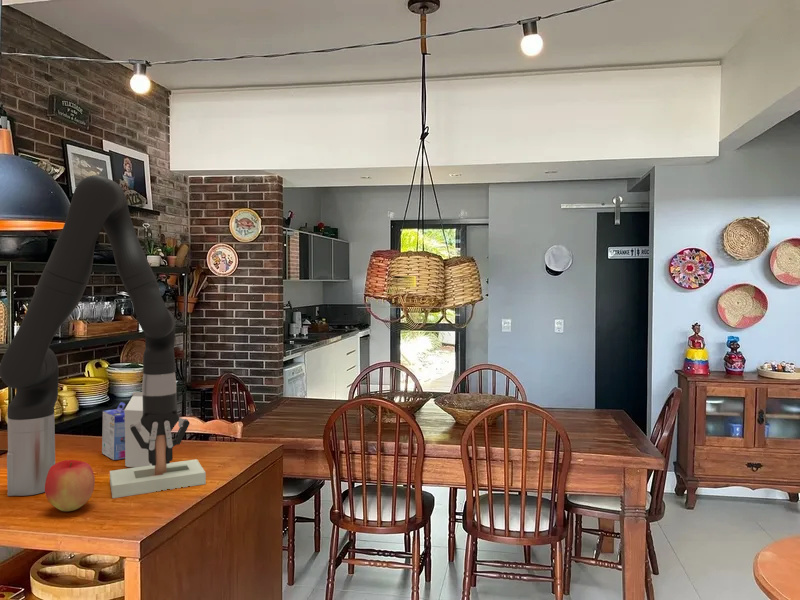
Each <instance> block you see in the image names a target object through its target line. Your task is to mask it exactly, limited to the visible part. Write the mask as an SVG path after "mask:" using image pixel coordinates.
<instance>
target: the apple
mask: <svg viewBox="0 0 800 600" xmlns="http://www.w3.org/2000/svg"><path fill="white" fill-rule="evenodd" d="M95 480H96V478H95V473H94V470H93V468H92V466H91V465H90V464H89V463H87V462H86V461H81V460H76V459H67V460H61V461H58V462H55V464H54V465H53V466H51V468H50V469H49V471H48V474H47V478H46V482H45V492H44V493H45V497H46V499H47V502H48V503H50V504H51V505H52V506H53V507H54V508H56V509H57V510H58V511H61V512H73V511H76V510H78V509H80V508H81V507H83V506H84V505H86V503H87V502H88V501H89V500H90V498H91V496H92V495H93V492H94V490H95V484H96V483H95V482H96V481H95Z"/></svg>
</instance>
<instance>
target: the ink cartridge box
mask: <svg viewBox="0 0 800 600" xmlns="http://www.w3.org/2000/svg"><path fill="white" fill-rule="evenodd" d="M126 406H127V405H126V403H125V402H122V401H120V403H119V404H118V406H117V408H116V409H107V410H102V434H101V435H102V436H101V441H102V442H101V454H103V455H105V456H106V457H107V458H110V459H111V460H112V461H117V460H118V461H119V460H123V459H124V460H125V408H126Z"/></svg>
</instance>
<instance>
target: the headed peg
mask: <svg viewBox="0 0 800 600" xmlns="http://www.w3.org/2000/svg"><path fill="white" fill-rule="evenodd" d="M154 449H155V475H152V476H157V475H163V473H167V468H166V434H159V435H156V441H155V448H154Z"/></svg>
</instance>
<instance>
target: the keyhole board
mask: <svg viewBox="0 0 800 600" xmlns="http://www.w3.org/2000/svg"><path fill="white" fill-rule="evenodd" d="M166 468H167V473H163V475H157V476H152V475H155V466H152V465H150V466H143V467H128V468H123V469H121V468H120V469H115V470H109V485H110V491H111V498H112V499H117V498H123V497H129V496H130V497H131V496H136V495H143V494H150V493H155V492H156V491H157V492H161V490H163V491H168V490H167V489H170V490H176V489H175V488H177V489H181V487H183V488H189V487H188V486H190V487H195V486H202V485H206V484H207V483H206V479H207V478H206V475H207V474H206V473H207V472H206V471H205V469H204V468H203V466H202V465H201V463H200V462H199V460H198V459H196V458H195V459H190V460H182V461H175V462H174V461H173V462H170V464H166Z"/></svg>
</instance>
